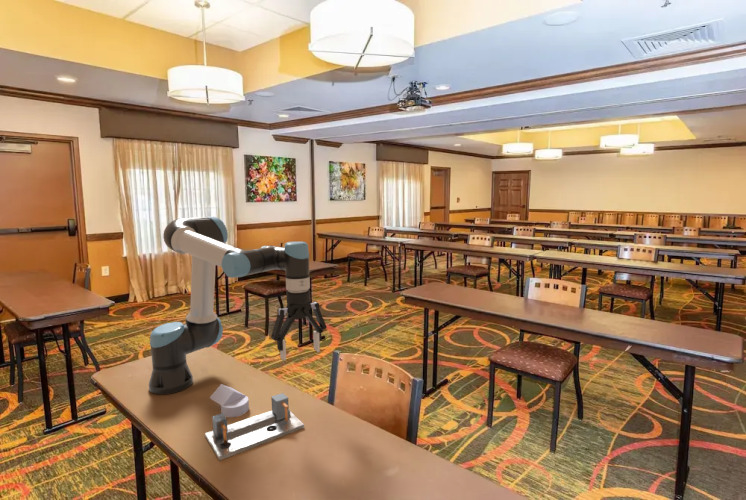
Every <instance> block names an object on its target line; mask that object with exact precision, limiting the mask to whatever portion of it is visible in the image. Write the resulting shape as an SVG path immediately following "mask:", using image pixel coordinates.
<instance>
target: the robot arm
mask: <svg viewBox="0 0 746 500" xmlns="http://www.w3.org/2000/svg"><path fill="white" fill-rule="evenodd" d="M228 236H229V235H228V229H227V227H226V225H225V223H224V222H223V220H222V219H220V218H219V217H216V216H209V215H208V216H206V215H205V216H196V217H194V216H193V217H182V218H177V219H174V220H172V221H171V222H170V223H168V224H167V225H166V226H165V228H164V230H163V241H164V244H165V245H166V247H167V248H169V249H170V250H171V251H173V252H175V253H178V254H181V255H182V254H188V255H190V256H191V278H190V281H191V282H190V307H189V308H190V309H189V310H190V311H189V313H188V314H186V316H185V323H182V322H181V321H172V322H168V323H164V324H161V325H159V326H157V327H155V328H154V329H153V330H152V331H151V333H150V336H149V346H150V353H151V354H150V355H151V364H152V371H151V375H150V378H149V381H148V382H149V383H148V390H149V392H150V393H151V394H154V395H169V394H175V393H178V392H181V391H184V390H185V389H187V388H189V387H190V386H192V384H193V383H194V381H193V380H194V379H193V378H194V376H193V373H192V372H191V369H190V367H189V365H188V362H187V355H188V354H192V353H194V352H197V351H199V350H203V349H205V348H210V347H211V346H214V345H216V344H217V343H218V342H220V340H221V339H222V336H223V332H224V327H223V325H222V320H221V319H220V318H219V317H218V315H217V313H215V311H214V305H215V283H216V281H215V280H216V266H218V267H219V268H222V271H223V273H225V276H226V277H228V278H230V279H231V278H242V277H243V278H244V277H246V276H250V275H254V274H258V273H260V274H261V273H264V272H269V271H274V270H279V271H284V272H285V289H286V292H285V293H286V307H285V308H280V307H278V308H277V309H276V310H277V312H276V313H277V316H276V319H275V322H274V326H273V329H272V331H271V335H270V338H271V340H273V341H275V342H277V343H276V346H277V350H278V351H279V352H280V353H279V354H280V359H281V360H282V361H283V362H285V361H287V345H286V342H287V341H286V340H285V338H286V335H287V334H288V332H289V330H290V328H291V327H292V324H293V323H294V322H295V320H299V319H306V320H307V321H308V322H309V324H311V326H312V328H314V330H313V331H312V332H313V333H312V334H313V335H312V336H313V350H314V351H315V352H317V353H319V352H320V350H321V349H320V348H321V346H320V345H321V344H320V342H321V341H322V333H323V332H324V330H326V329H327V325H326V322H325V319H324V317H323V315H322V312H321V309H320V303H319V302H316V301H313V302H311V291H310V289H311V283H310V282H311V279H310V252H309V244H308V243H307V242H305V241H287V242H285V243H284V247H282V246H276V245H263V246H261V247H260V248H255V249H248V250H244V249H242V248H239V247H235V246H234V245H231V244H228V243H227V242H228V239H229V237H228ZM310 310H313V313H314V315H315V318H316V319H314V317H313V315H312V314H311V313H310ZM286 315H287V316H286ZM285 316H286V318H285ZM284 320H285V321H284ZM316 320H317V322H316ZM283 322H284V323H283Z"/></svg>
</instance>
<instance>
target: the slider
mask: <svg viewBox="0 0 746 500" xmlns="http://www.w3.org/2000/svg"><path fill="white" fill-rule="evenodd" d="M270 398H271V399H270V400H271V411H272V414H273V413H274V414H275V415H276V420H277V421H278V420H280V419H283V418H285V422H287V421H288V417H289V410H290V409H289V397H288V396H287V395H286V394H285V393H283V392H282V393H279V394H275V395H271V397H270Z"/></svg>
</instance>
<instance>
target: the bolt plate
mask: <svg viewBox="0 0 746 500" xmlns="http://www.w3.org/2000/svg"><path fill="white" fill-rule="evenodd" d="M211 418H212V430H210V431H208V432H207V431H206V432H205V433H204V436H205V439H206V440H207V442H208V444H209V446H210V447H211V448H212V451H213V453H214V454H215V456H216V457H217V459H218V460H219V461H222V460H225V459H227V458H230V457H232V456H235V455H238V454H240V453H243V452H245V451H248V450H251V449H253V448H255V447H258V446H260V445H263V444H264V445H265V444H266V443H268V442H272V441H274V440H276V439H278V438H282V437H284V436H287V435H290V434H292V433H294V432H297V431H300V430H303V429H305V424H304V423H303V422H302V421H301V420H300V419H299V418H298V417H297V416H296V415H295V414H294V413H293V412H292V411H291V410H290V409H289V417H288V421H287V422H285V418H283V419H280V420H278V421H277V420H276V415H275V414H274V413H273V414H272V410H269V411H266V412H263V413H260V414H258V415H254V416H251V417H249V418H245V419H243V420H240V421H237V422H234V423H231V424H228V419H227V417H225V416H224V414H223V413H222V414H221V413H218V414H216V415H213V416H212V417H211Z"/></svg>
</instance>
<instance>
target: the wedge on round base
mask: <svg viewBox="0 0 746 500" xmlns="http://www.w3.org/2000/svg"><path fill="white" fill-rule="evenodd" d="M209 399H210V400H212V401H213V402H215V403H217V404H218V405H220V414H222V413H223V414H224V416H225V417H226V418H236V417H240V416H243V415H244V414H246V413H247V412H248V411H249V409H250V405H249V404H250V403H249V397H248V396H247V395H246V394H244V393H242V392H241V391H238V390H236V389H235V388H234V387H230V386H228V385H226V384H225V385H224V384H222V383H221V384H219V386H218V387H217V388H216V390H215V391H213V393H212V394H211V395H210V397H209Z"/></svg>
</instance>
